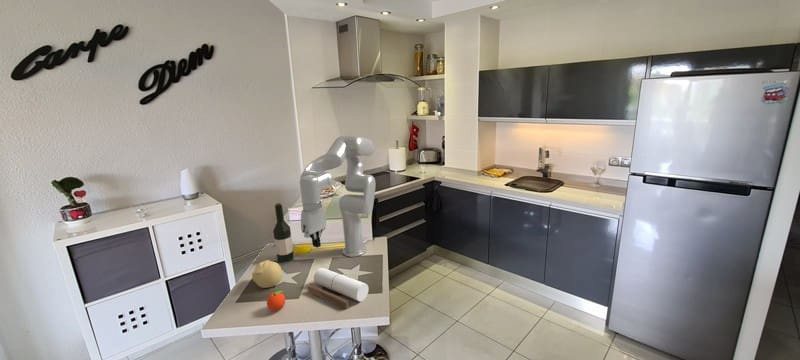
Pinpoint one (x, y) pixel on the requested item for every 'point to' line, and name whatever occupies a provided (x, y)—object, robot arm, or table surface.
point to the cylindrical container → (341, 284)
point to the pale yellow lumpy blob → (267, 274)
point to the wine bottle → (282, 237)
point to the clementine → (276, 301)
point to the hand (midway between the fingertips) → (316, 246)
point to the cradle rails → (328, 296)
